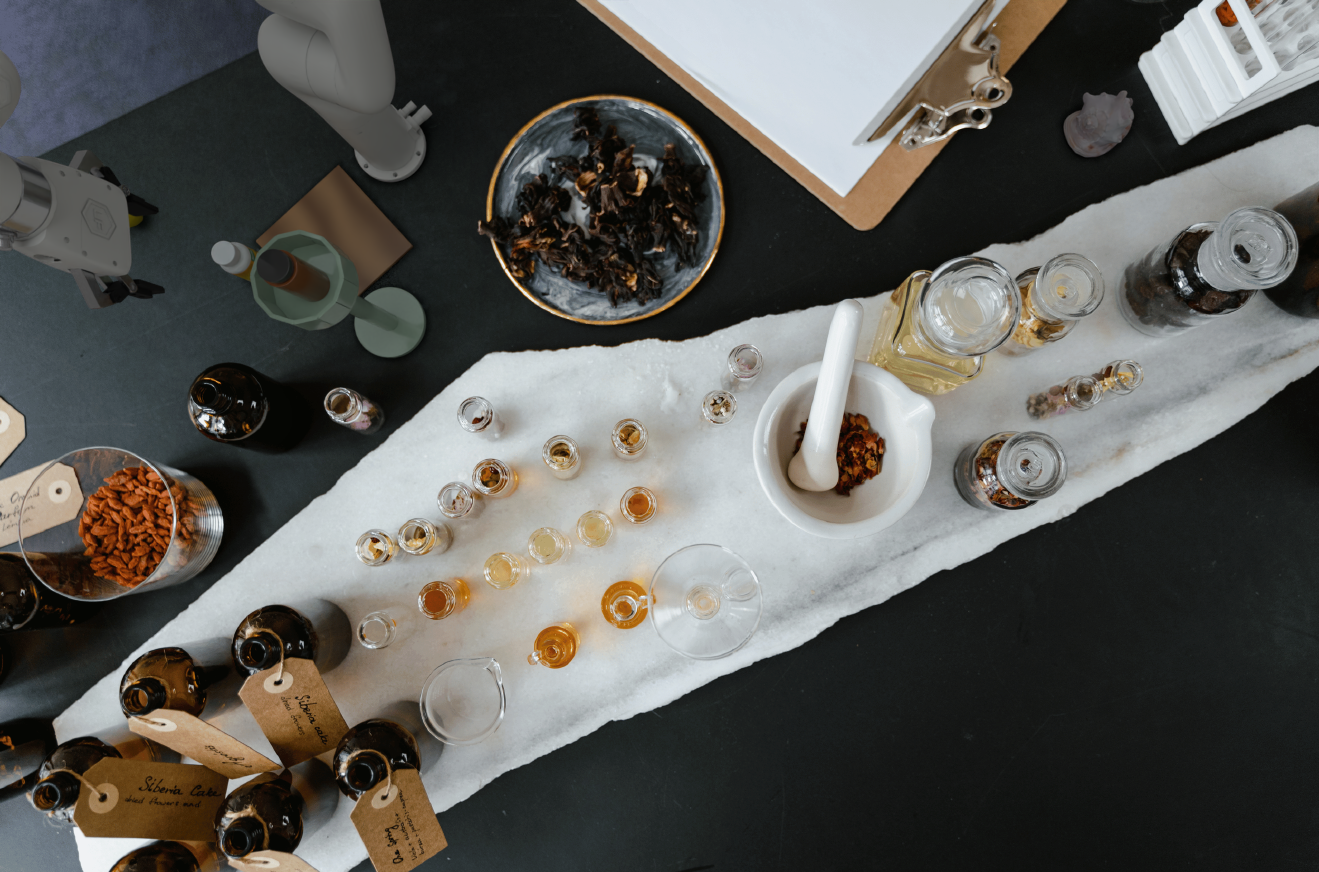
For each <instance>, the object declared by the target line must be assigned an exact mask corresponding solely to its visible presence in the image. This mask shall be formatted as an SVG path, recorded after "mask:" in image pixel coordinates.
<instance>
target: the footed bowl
mask: <svg viewBox="0 0 1319 872" xmlns="http://www.w3.org/2000/svg"><path fill="white" fill-rule="evenodd" d="M269 249H278V250H285V251H288V252H289V253H291V254H293V255H295V256H297V257H299V258H300V259H302V260H304V261H306V262H308V263H310V264H312V265H313V266H315V267H317V268H319V269H321V270H323V271H324V272H325V273H326V274H327V275H328V277H329V280H330V289H329V292H328V294H327V295H326V296H325V297H324V298H323V299H322V300H320V301H317V302H308V301H305V300H303V299H301V298H299V297H296V296H294V295H292V294H289V293H287V292H285V291H282V290H280V289H278V288H276V287H273V286H271V285H269V284H268V283H266V282H265V281H264V279H262V278H261V277H260V275H259V274H258V272H257V267H256V265H257V260H258V258H259V256H260V255H261V254H262V253H263V252H264V251H266V250H269ZM257 252H259V253H257V255H256V258H255V261H254V264H253V267H252V270H251V273H250V275H251V276H250V280H251V282H250V284H251V289H252V294H253V299H254V301H255V302H256V303H257V304H258V306H260V308H261V309H262V310H263V311H264V312H265V314H267V316H269V318H271V319H273V320H276V321H279V322H281V323H284V324H287V325H289V326H293V327H296V328H298V329H299V328H300V329H303V330H306V331H319V330H325V329H329V328H331V327H333V326H335V325H338V323H341V322H342V321H343V320H345V318H346V317H347V316H348V315H351V316H353V317H354V330H355V335H356V337H357V339H358V341H359V343H360V344H361V345H362V347H363V348H364V349H365V350H367V351H368V352H369V353H371V354H373V355H375V356H377V357H381V358H385V359H396V358H400V357H405V356H406V355H408V354H410V353H412V351H414V350H415V349H416V348H417V347H418V346H419V345H420V343H421V342H422V340H423V338H424V336H425V333H426V329H427V317H426V312H425V310H424V309H425V308H424V307H423V305H422V303H421V302H420V301H419V299H418V298H417V297H416V296H415V295H414V294H412V293H411V292H409V291H407V290H406V289H402V288H400V287H395V286H394V287H393V286H385V287H381V288H378V289H376V290H373V291H372V292H370V293H368V295H366V296H365V297H364V298H363V296H361V295H360V296H358V291H359V279H358V274H357V270H356V268H355V266H354V264H353V262H352V260H351V259H350V258H349V257H348V255H346V254H345V253H344V252H343V251H342V250H341V249H340V247H338V246H337V245H335V244H334V243H332V242H331V241H329V240H327V239H326V238H324V237H323V236H320V235H316V234H313V233H310V232H306V231H303V230H296V231H292V232H287V233H283V234H279V235H277V236H275V237H273V238H272V239H271V240H270V241H269V242H268V243H267V244H266V245H265V246H264V247H263V248H261V247H260V249H259V250H258V251H257Z"/></svg>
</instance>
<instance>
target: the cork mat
mask: <svg viewBox="0 0 1319 872" xmlns="http://www.w3.org/2000/svg"><path fill="white" fill-rule="evenodd" d="M296 230H303V231H306V232H310V233H313V234H316V235H320V236H323V237H324V238H326V239H327V240H329V241H331V242H332V243H334V244H335V245H337V246H338V247H340V249H341V250H342V251H343V252H344V253H345V254H346V255H348V257H349V258H350V259H351V260H352V262H353V264H354V266H355V268H356V270H357V274H358V279H359V291H358V296H360V297H361V296H362V295H363V294H364V293H365V292H366V291H367V290H369V288H370V287H371V286H373V285H374V284H375V283H376V282H377V281H378V280H379V279H381V277H382V276H384V275H385V274H386V273H387V272H388V271H389V270H390V269H391V268H392V267H393V266H394V265H395V264H397V263H398V262H399V261H400V260H401V259H402V258H403V257H404V256H406V254H408V253H409V251H411V250H412V249H413V248H414V244H412V243H411V242H410V241H409V239H407V238H406V237H405V235H404V234H403V233H402V232H401V231H400V230H399V229H398V227H396V225H394V223H393V222H392V221H391V220H390V219H389V218H388V217H387V216H386V215H385V214H384V212H383V211H382V210H381V209H380V208H379V207H378V205H376V204H375V202H374V201H373V200H372V199H371V198H370V196H368V195H367V194H366V193H365V192H364V191H363V189H362V188H361V187H360V186H359V185H358V184H357V183H356V182H355V181H354V179H352V177H351V176H350V175H349V173H347V172H346V171H345V170H344V169H343V168H342V166H340V164H338V165H337V166H336V167H334V168H333V169H332V170H331V171H329V173H328V174H327V175H326V176H325V177H324V178H322V179H321V180H320V181H319V182H318V183H317V184H316V185H315V186H314V187H313V188H311V190H309V191H308V192H307V193H306V194H305V195H304V196H303V197H302V198H300V199H299V200H298V201H297V202H296V203H295V204H294V205H293V206H292V207H291V208H290V209H288V210H287V211H286V212H285V213H284V214H283V215H282V216H281V217H280V218H279V219H278V220H276V222H275V223H274V224H272V225H271V226H270V227H268V229H267V230H266V231H265V232H264V233H262V234H261V235H260V236H259V237H258V238H257V239H256V240H255V242H256V244H258V245H259V247H260V249H261V248H263V247H264V246H265V245H266V244H267V243H268V242H269V241H270V240H271V239H272V238H273V237H275V236H277V235H279V234H283V233H287V232H292V231H296Z"/></svg>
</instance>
